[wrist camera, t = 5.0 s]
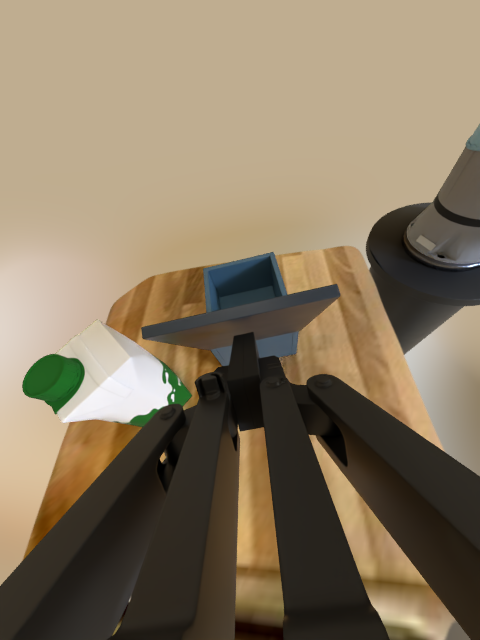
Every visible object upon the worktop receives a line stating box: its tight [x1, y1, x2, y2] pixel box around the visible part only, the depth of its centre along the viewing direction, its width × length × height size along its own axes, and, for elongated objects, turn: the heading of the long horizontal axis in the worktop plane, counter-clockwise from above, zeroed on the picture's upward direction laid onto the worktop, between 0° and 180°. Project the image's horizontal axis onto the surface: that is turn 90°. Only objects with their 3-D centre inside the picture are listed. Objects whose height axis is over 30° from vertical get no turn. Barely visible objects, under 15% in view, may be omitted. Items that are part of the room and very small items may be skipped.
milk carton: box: [22, 319, 192, 427], centre depth 29 cm, size 9×9×20 cm
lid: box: [141, 284, 340, 350], centre depth 22 cm, size 17×13×1 cm
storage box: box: [203, 252, 299, 366], centre depth 38 cm, size 16×13×9 cm
